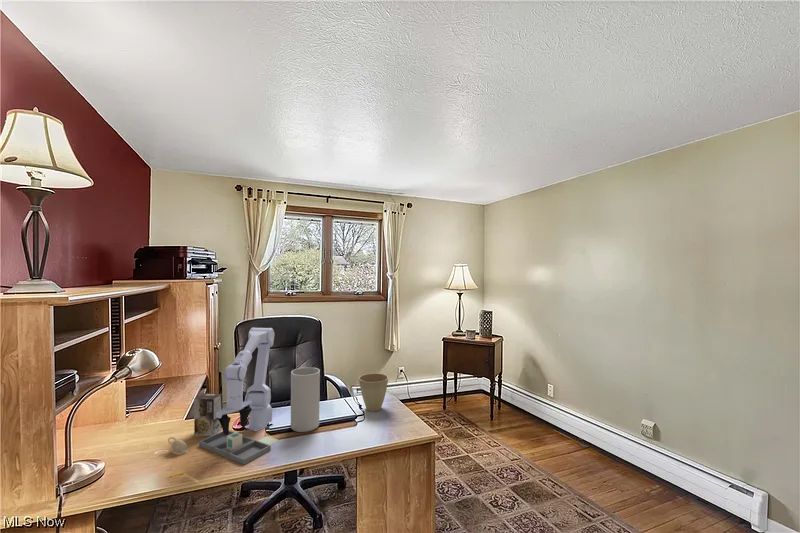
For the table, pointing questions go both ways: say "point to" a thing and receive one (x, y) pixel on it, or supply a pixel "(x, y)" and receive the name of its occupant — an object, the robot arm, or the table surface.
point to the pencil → (176, 474)
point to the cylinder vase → (305, 399)
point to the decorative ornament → (178, 446)
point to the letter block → (234, 441)
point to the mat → (268, 440)
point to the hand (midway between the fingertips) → (234, 429)
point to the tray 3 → (249, 452)
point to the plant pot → (373, 390)
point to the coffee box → (207, 414)
